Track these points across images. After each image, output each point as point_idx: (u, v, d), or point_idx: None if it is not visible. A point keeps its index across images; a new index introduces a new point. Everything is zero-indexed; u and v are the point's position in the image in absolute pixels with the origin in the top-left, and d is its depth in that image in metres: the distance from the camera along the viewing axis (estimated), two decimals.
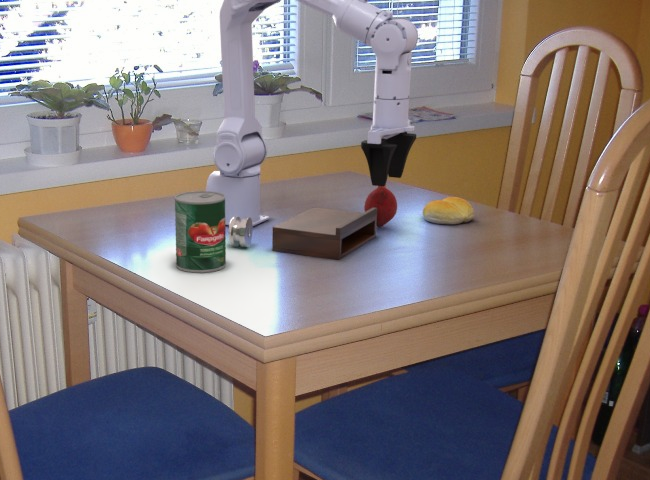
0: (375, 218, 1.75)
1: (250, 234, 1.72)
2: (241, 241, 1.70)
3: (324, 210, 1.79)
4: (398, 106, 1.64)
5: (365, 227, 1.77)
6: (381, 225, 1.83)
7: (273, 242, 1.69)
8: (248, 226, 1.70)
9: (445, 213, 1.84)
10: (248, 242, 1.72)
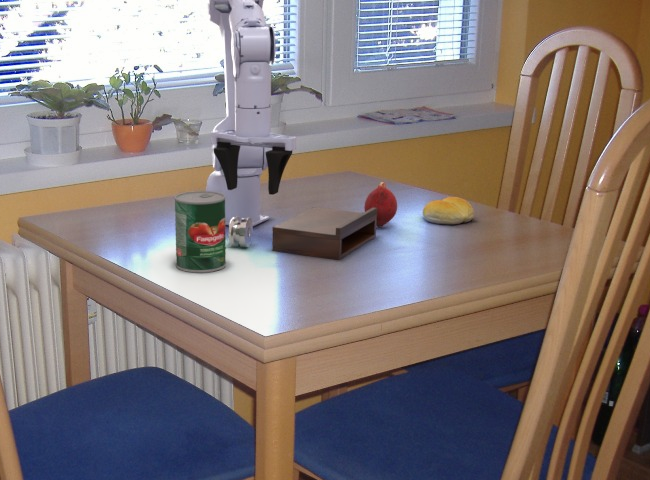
0: (375, 218, 1.75)
1: (250, 234, 1.72)
2: (241, 241, 1.70)
3: (324, 210, 1.79)
4: (236, 113, 1.63)
5: (365, 227, 1.77)
6: (381, 225, 1.83)
7: (273, 242, 1.69)
8: (248, 226, 1.70)
9: (445, 213, 1.84)
10: (248, 242, 1.72)
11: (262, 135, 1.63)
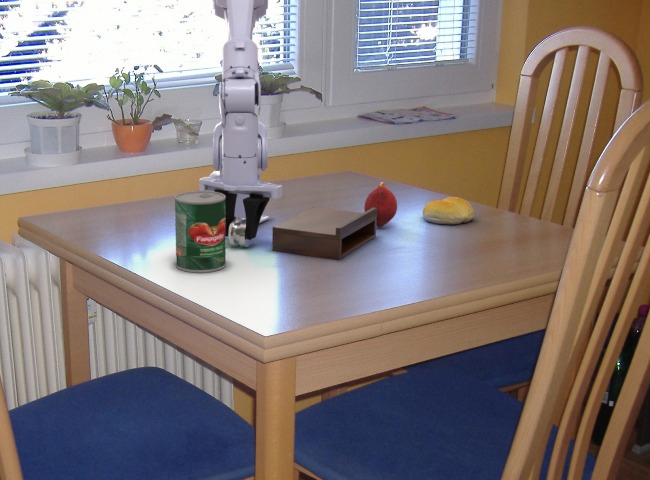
0: (375, 218, 1.75)
1: None
2: (241, 241, 1.70)
3: (324, 210, 1.79)
4: (223, 162, 1.66)
5: (365, 227, 1.77)
6: (381, 225, 1.83)
7: (273, 242, 1.69)
8: None
9: (445, 213, 1.84)
10: (248, 242, 1.72)
11: (249, 183, 1.66)
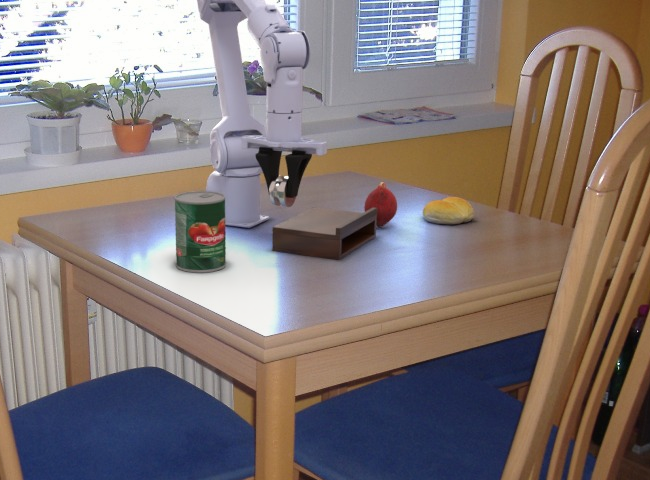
0: (375, 218, 1.75)
1: None
2: (281, 200, 1.67)
3: (324, 210, 1.79)
4: (267, 118, 1.64)
5: (365, 227, 1.77)
6: (381, 225, 1.83)
7: (273, 242, 1.69)
8: None
9: (445, 213, 1.84)
10: (290, 202, 1.69)
11: (293, 140, 1.64)
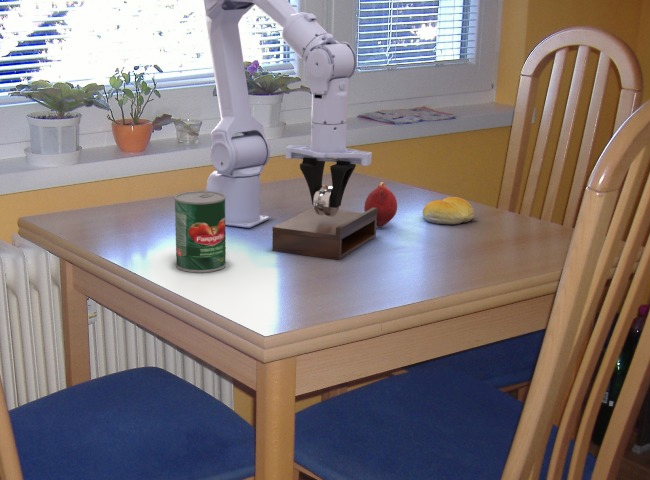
0: (375, 218, 1.75)
1: None
2: (325, 210, 1.68)
3: None
4: (312, 129, 1.65)
5: (365, 227, 1.77)
6: (381, 225, 1.83)
7: (273, 242, 1.69)
8: None
9: (445, 213, 1.84)
10: (333, 211, 1.70)
11: (338, 150, 1.65)
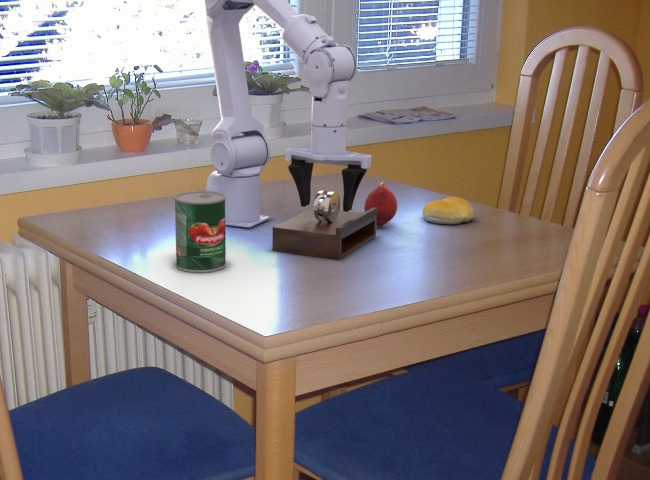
0: (375, 218, 1.75)
1: (336, 209, 1.71)
2: (325, 215, 1.69)
3: None
4: (312, 132, 1.65)
5: (365, 227, 1.77)
6: (381, 225, 1.83)
7: (273, 242, 1.69)
8: (334, 201, 1.70)
9: (445, 213, 1.84)
10: (333, 217, 1.71)
11: (338, 153, 1.65)
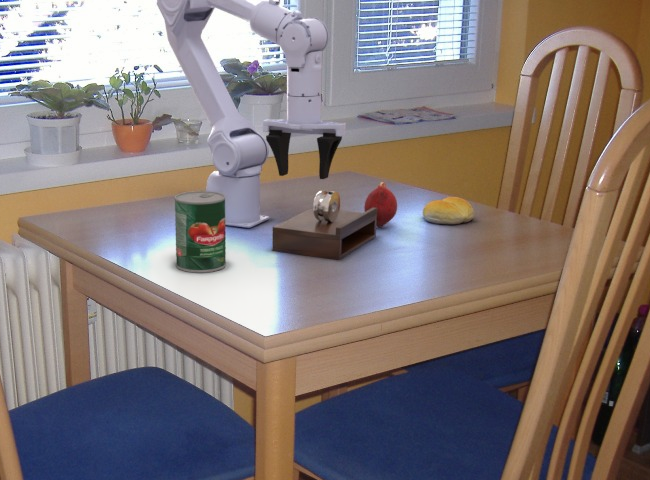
0: (375, 218, 1.75)
1: (336, 209, 1.71)
2: (325, 215, 1.69)
3: None
4: (288, 102, 1.71)
5: (365, 227, 1.77)
6: (381, 225, 1.83)
7: (273, 242, 1.69)
8: (334, 201, 1.70)
9: (445, 213, 1.84)
10: (333, 217, 1.71)
11: (313, 122, 1.71)
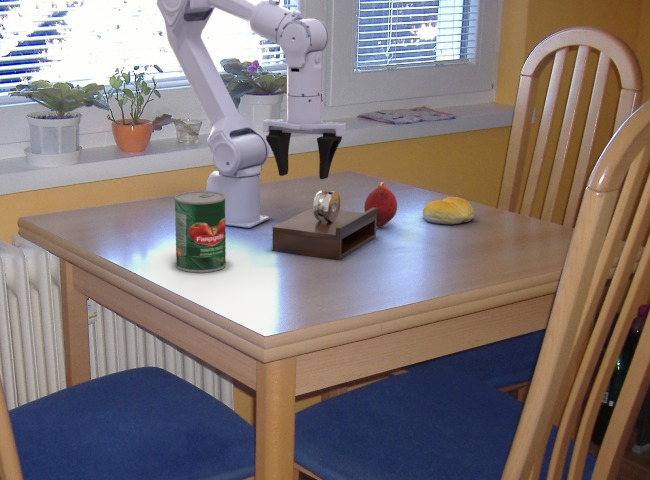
0: (375, 218, 1.75)
1: (336, 209, 1.71)
2: (325, 215, 1.69)
3: None
4: (288, 102, 1.71)
5: (365, 227, 1.77)
6: (381, 225, 1.83)
7: (273, 242, 1.69)
8: (334, 201, 1.70)
9: (445, 213, 1.84)
10: (333, 217, 1.71)
11: (313, 122, 1.71)
